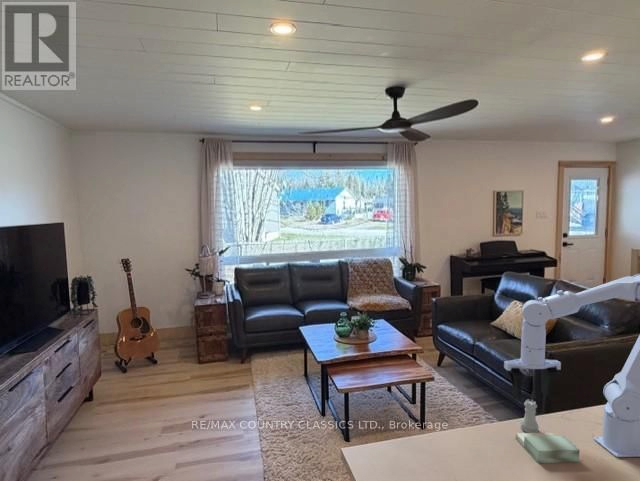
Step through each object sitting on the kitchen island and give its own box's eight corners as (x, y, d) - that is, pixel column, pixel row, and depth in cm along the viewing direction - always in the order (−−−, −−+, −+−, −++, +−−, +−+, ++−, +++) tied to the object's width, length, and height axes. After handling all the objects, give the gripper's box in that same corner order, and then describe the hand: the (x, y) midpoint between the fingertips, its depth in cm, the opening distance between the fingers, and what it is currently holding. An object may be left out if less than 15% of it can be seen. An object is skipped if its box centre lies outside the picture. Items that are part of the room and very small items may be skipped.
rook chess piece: (541, 435, 107) (542, 406, 106) (523, 433, 108) (524, 404, 107) (535, 426, 111) (537, 398, 111) (518, 424, 112) (519, 397, 111)
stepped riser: (552, 437, 106) (553, 426, 105) (578, 461, 96) (579, 449, 95) (515, 438, 105) (516, 427, 105) (537, 463, 95) (538, 450, 95)
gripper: (550, 340, 112) (548, 387, 113) (499, 341, 111) (497, 388, 112) (567, 349, 105) (564, 399, 106) (512, 350, 104) (510, 400, 105)
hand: (531, 394), depth 109 cm, fingers open, 7 cm apart
